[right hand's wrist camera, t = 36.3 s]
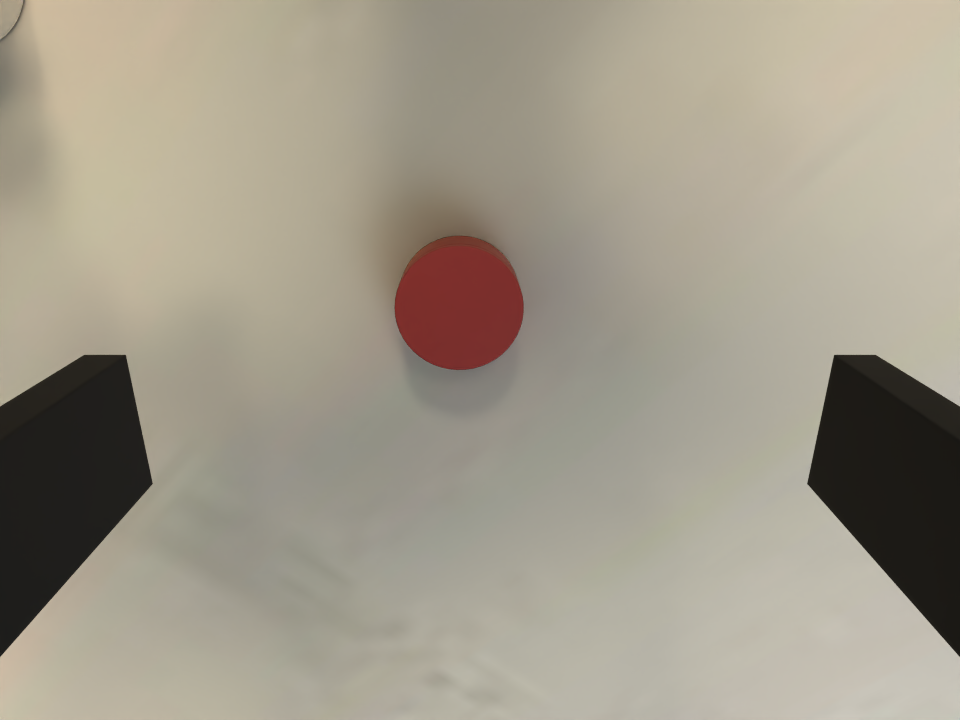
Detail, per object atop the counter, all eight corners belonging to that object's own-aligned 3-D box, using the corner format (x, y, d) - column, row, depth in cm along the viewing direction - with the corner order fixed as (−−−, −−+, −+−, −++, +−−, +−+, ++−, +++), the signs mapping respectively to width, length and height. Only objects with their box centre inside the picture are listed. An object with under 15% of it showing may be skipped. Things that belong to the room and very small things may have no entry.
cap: (543, 287, 22) (550, 301, 20) (467, 372, 23) (467, 393, 21) (450, 209, 21) (449, 218, 19) (376, 302, 22) (368, 318, 20)
